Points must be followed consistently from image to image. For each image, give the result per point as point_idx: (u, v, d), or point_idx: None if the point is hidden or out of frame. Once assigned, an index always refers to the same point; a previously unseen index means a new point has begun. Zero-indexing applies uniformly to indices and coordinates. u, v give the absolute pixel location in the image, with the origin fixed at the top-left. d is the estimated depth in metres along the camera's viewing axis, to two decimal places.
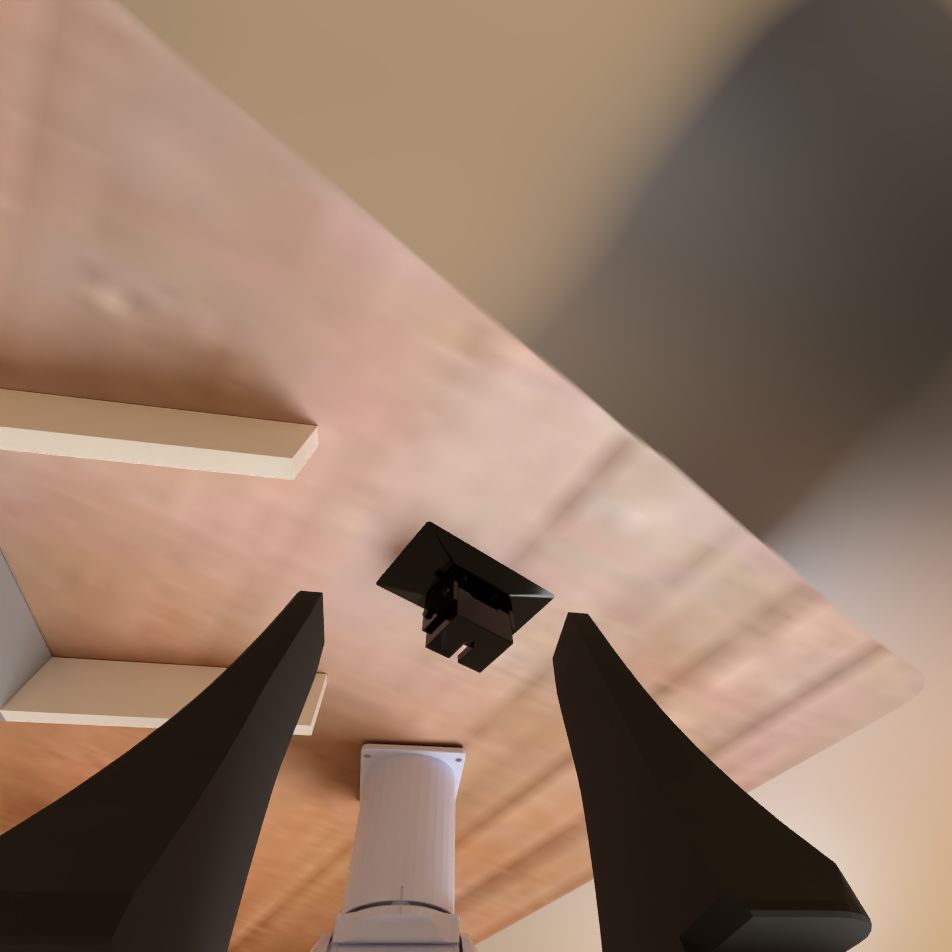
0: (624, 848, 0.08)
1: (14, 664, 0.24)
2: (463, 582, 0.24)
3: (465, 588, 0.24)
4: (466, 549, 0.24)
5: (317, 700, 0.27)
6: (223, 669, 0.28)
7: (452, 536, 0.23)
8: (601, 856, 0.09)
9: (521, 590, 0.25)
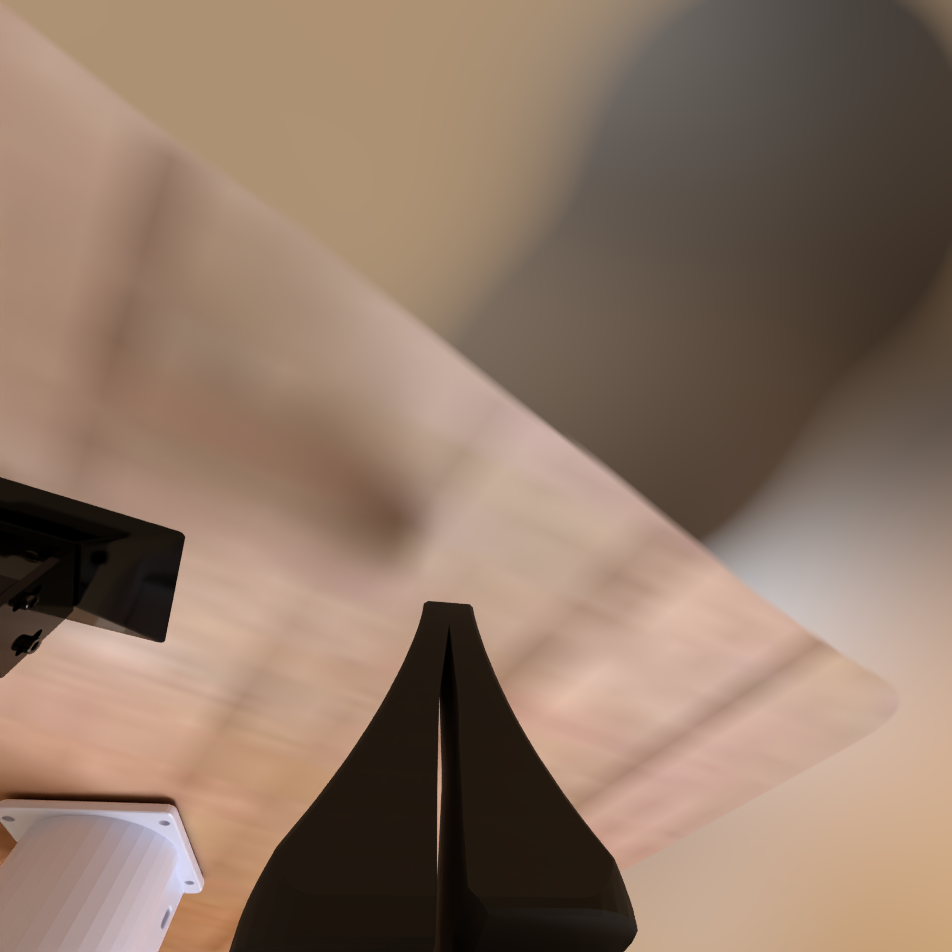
0: (447, 844, 0.08)
1: None
2: None
3: None
4: None
5: None
6: None
7: None
8: (441, 853, 0.09)
9: (99, 533, 0.13)
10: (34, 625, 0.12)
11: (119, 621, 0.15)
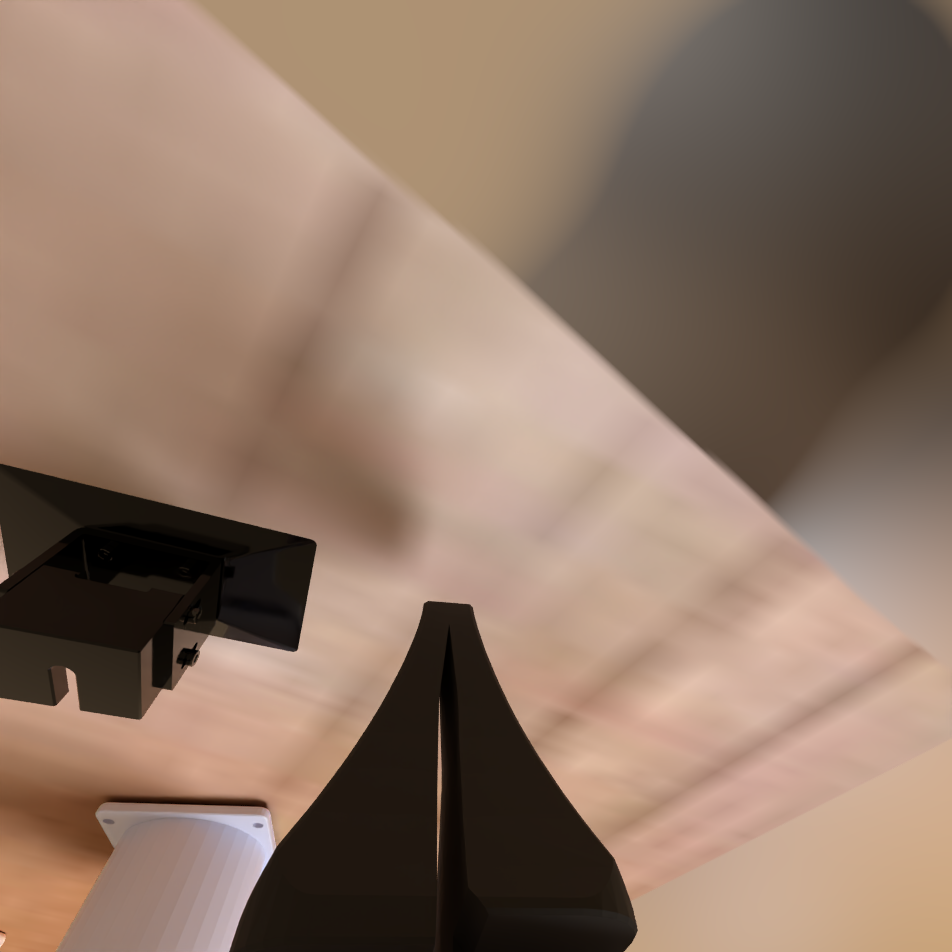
0: (447, 844, 0.08)
1: None
2: (109, 555, 0.13)
3: (128, 565, 0.13)
4: (90, 493, 0.13)
5: None
6: None
7: None
8: (441, 853, 0.09)
9: (242, 545, 0.14)
10: (193, 638, 0.13)
11: (254, 631, 0.15)
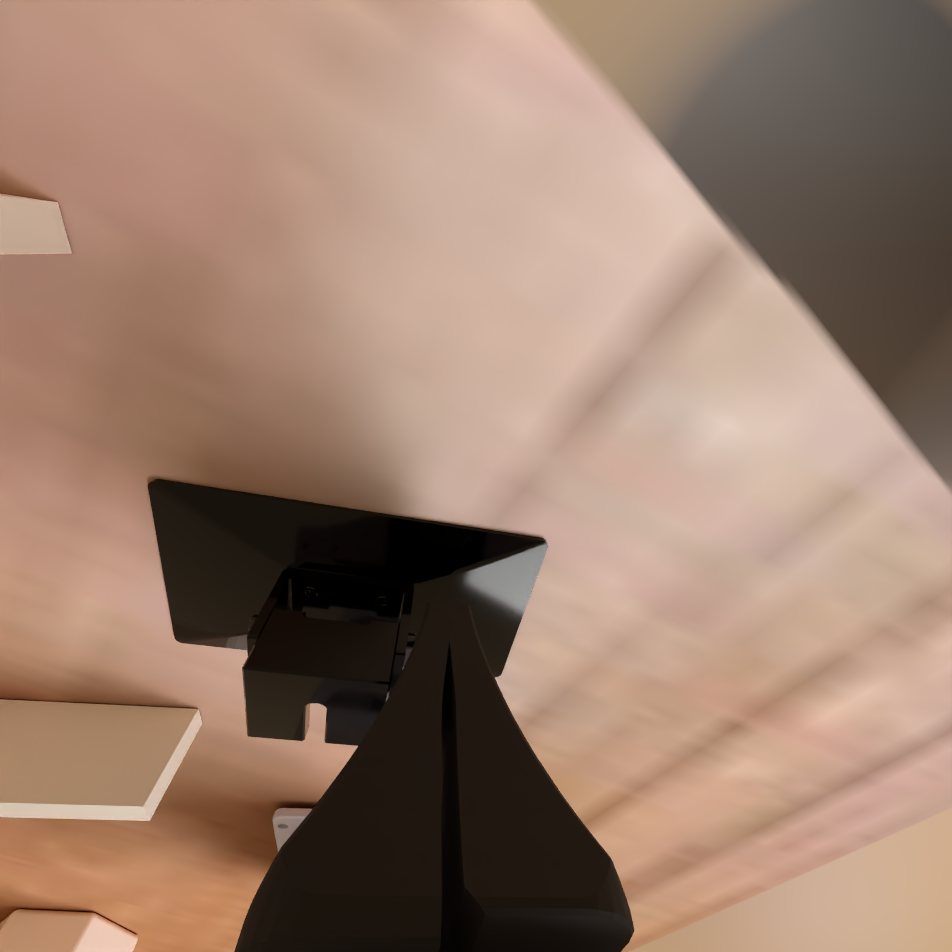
0: (444, 844, 0.08)
1: None
2: (314, 592, 0.13)
3: (328, 600, 0.14)
4: (292, 535, 0.13)
5: (169, 757, 0.16)
6: (23, 703, 0.17)
7: (254, 522, 0.13)
8: None
9: (430, 569, 0.14)
10: None
11: None
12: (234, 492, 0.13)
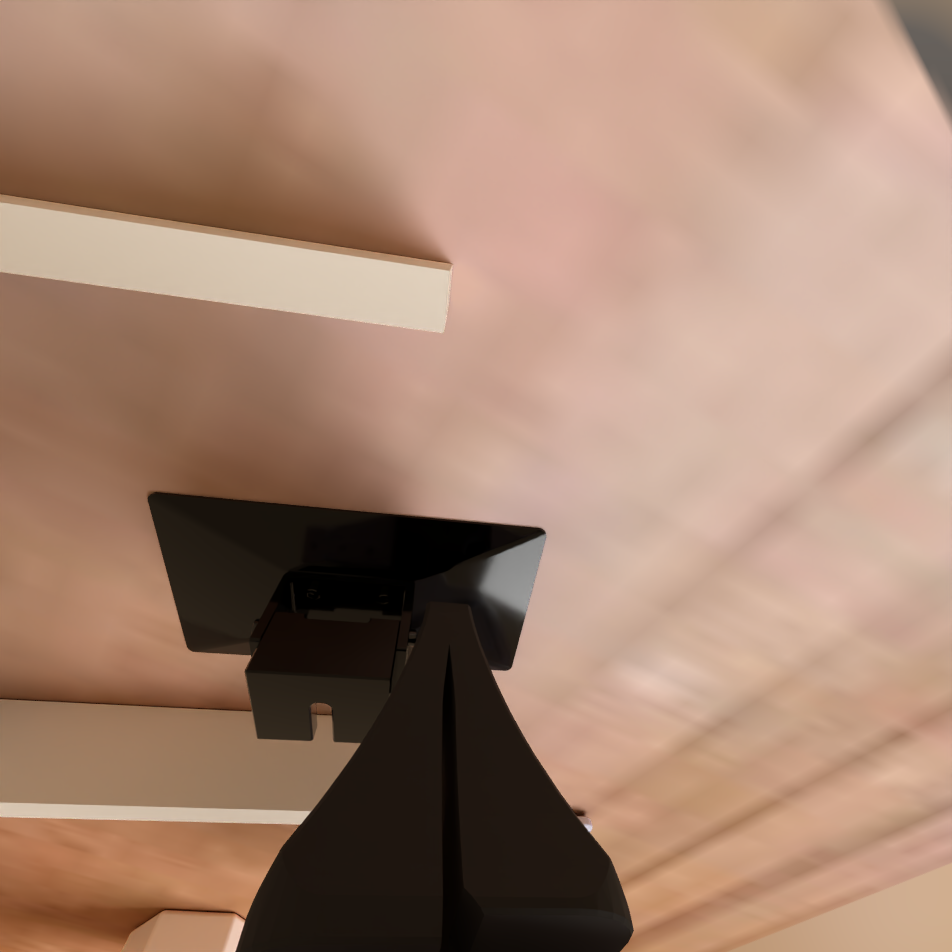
0: (444, 844, 0.08)
1: None
2: (316, 594, 0.13)
3: (331, 601, 0.14)
4: (290, 539, 0.13)
5: None
6: (248, 714, 0.18)
7: (252, 528, 0.13)
8: None
9: (430, 565, 0.14)
10: None
11: None
12: (231, 500, 0.13)
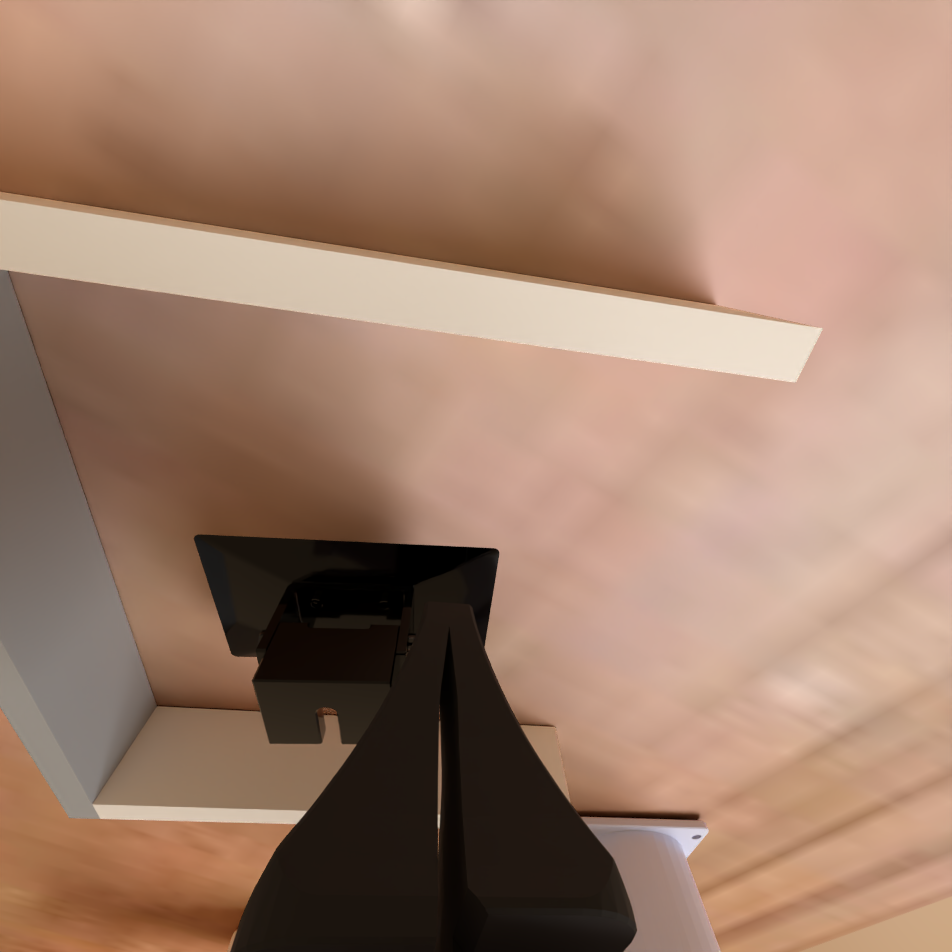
0: (446, 844, 0.08)
1: (113, 727, 0.15)
2: (319, 603, 0.14)
3: (334, 609, 0.14)
4: (292, 552, 0.14)
5: (563, 772, 0.17)
6: None
7: (255, 543, 0.14)
8: (440, 853, 0.09)
9: (427, 570, 0.14)
10: None
11: None
12: None
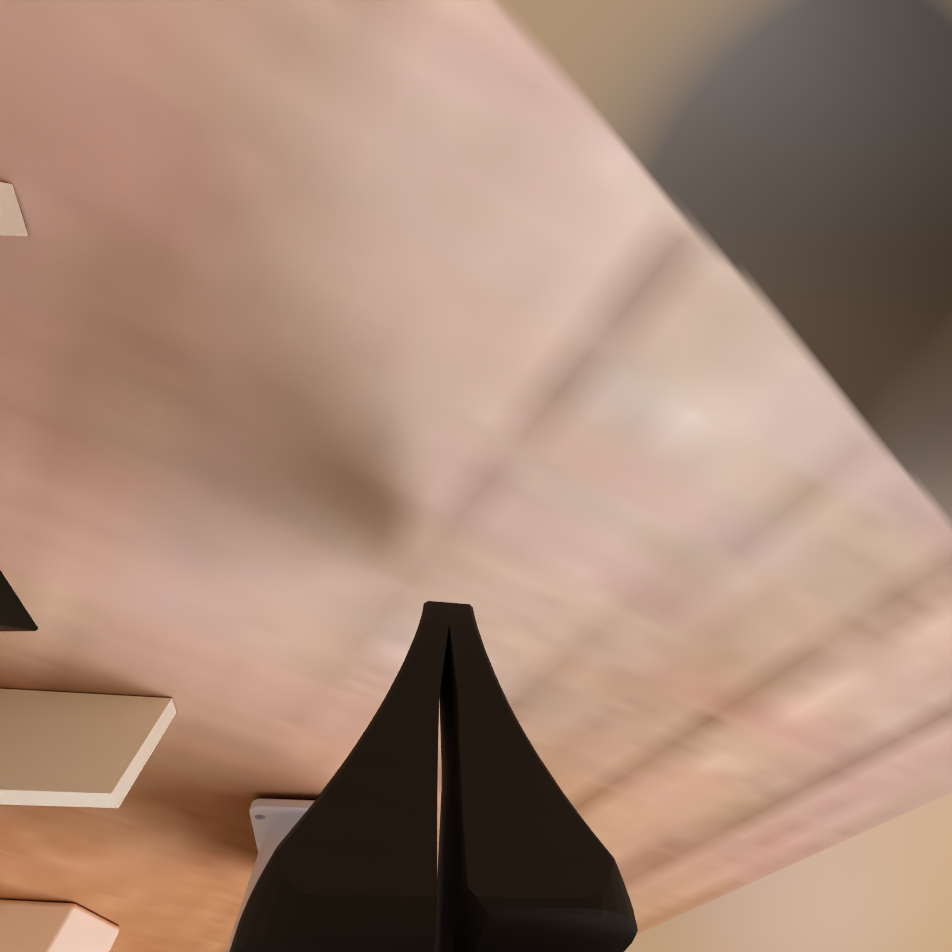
0: (447, 844, 0.08)
1: None
2: None
3: None
4: None
5: (140, 745, 0.16)
6: None
7: None
8: (441, 853, 0.09)
9: None
10: None
11: None
12: None
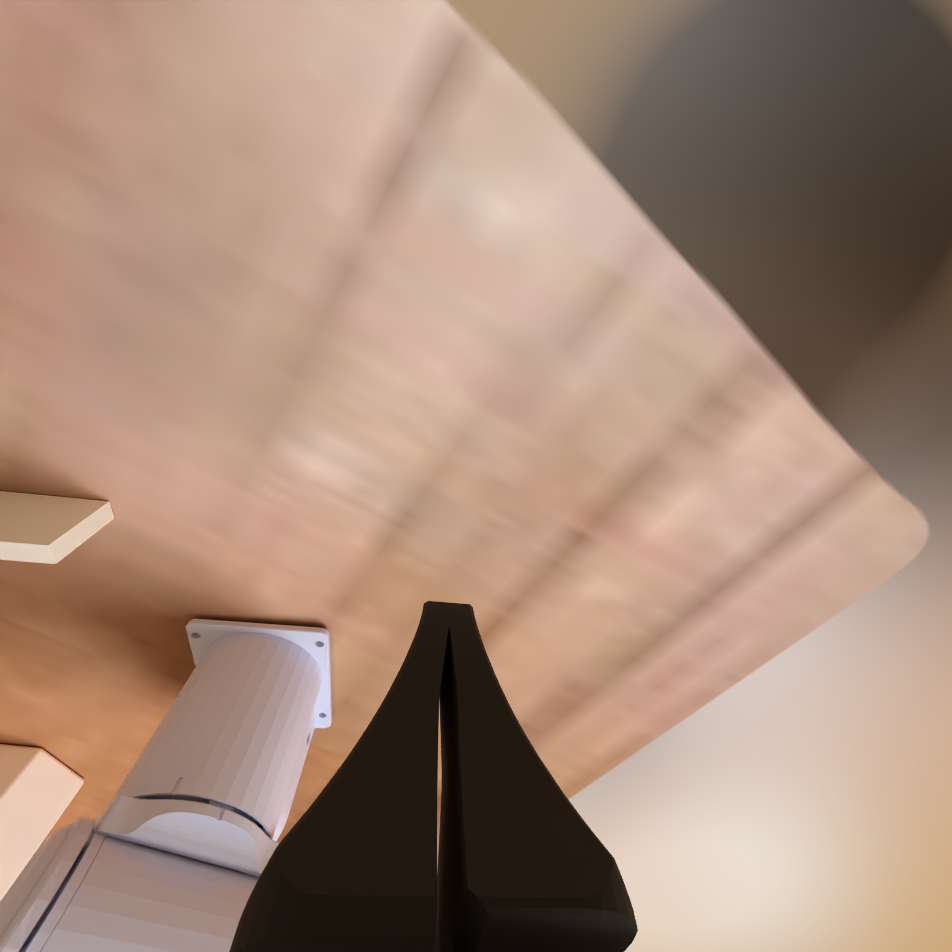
0: (447, 844, 0.08)
1: None
2: None
3: None
4: None
5: (77, 523, 0.19)
6: None
7: None
8: (441, 853, 0.09)
9: None
10: None
11: None
12: None
